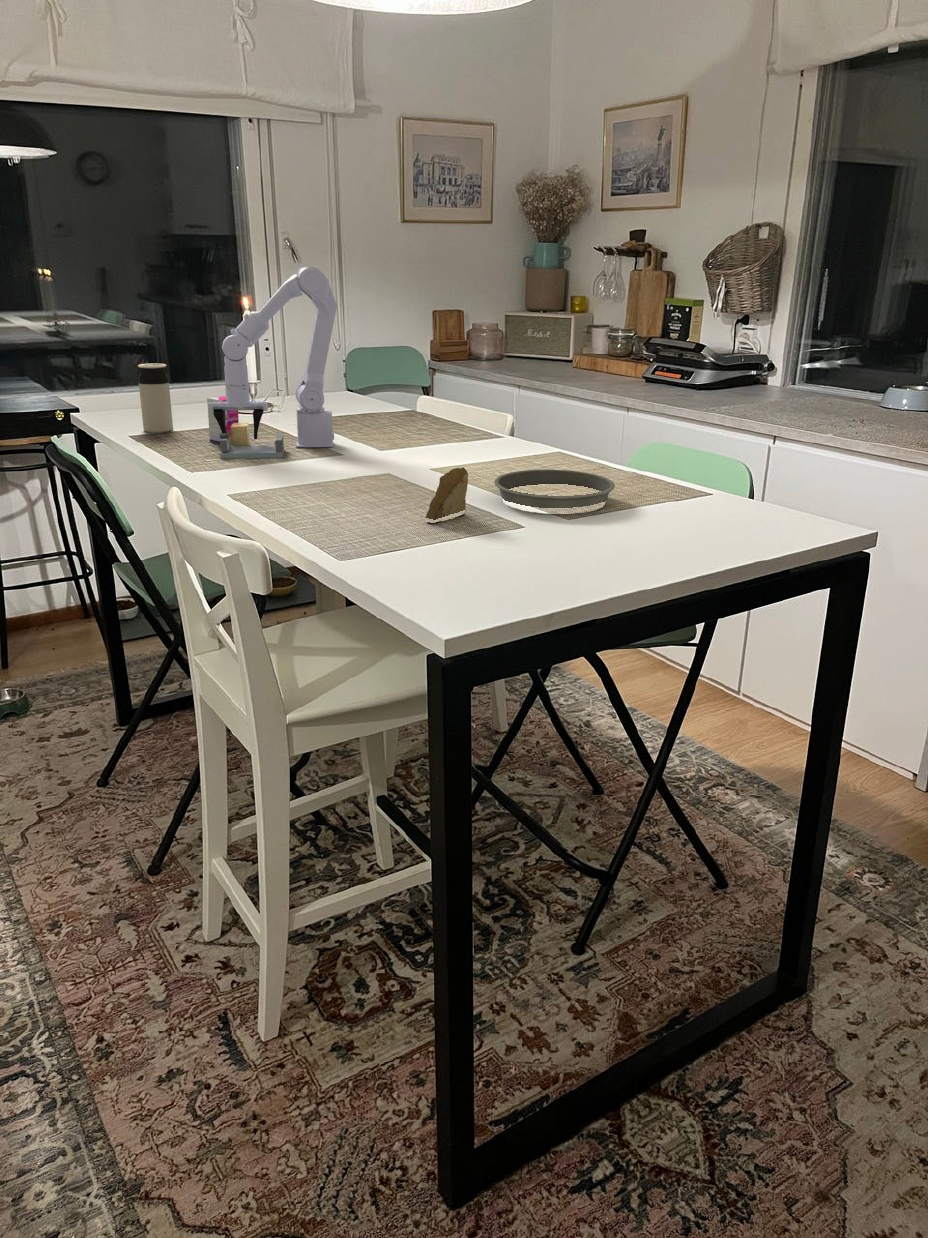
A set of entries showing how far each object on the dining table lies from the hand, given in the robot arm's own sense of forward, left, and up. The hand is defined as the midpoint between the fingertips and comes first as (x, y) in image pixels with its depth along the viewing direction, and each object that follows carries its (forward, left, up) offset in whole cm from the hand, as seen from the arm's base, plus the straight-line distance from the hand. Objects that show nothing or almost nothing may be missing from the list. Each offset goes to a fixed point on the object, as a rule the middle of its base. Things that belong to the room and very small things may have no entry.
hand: (240, 438), depth 246 cm
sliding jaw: (+3, +8, -1) cm, 9 cm away
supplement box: (+5, -10, -3) cm, 11 cm away
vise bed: (-4, +8, -2) cm, 10 cm away
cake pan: (-68, +63, -3) cm, 93 cm away
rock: (-44, +74, -3) cm, 87 cm away
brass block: (0, 0, -2) cm, 2 cm away
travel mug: (+25, -28, -3) cm, 37 cm away
